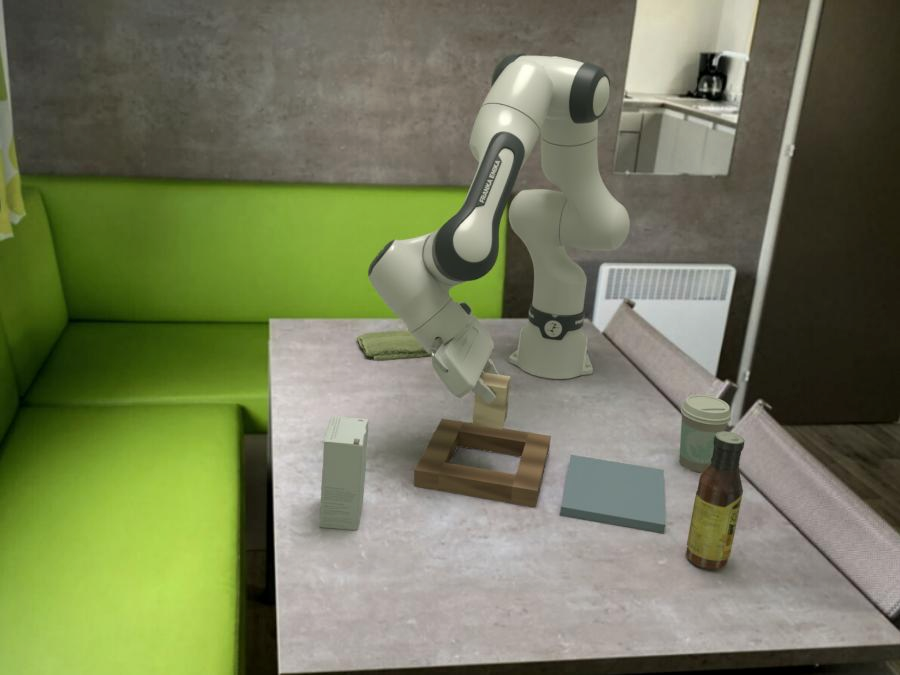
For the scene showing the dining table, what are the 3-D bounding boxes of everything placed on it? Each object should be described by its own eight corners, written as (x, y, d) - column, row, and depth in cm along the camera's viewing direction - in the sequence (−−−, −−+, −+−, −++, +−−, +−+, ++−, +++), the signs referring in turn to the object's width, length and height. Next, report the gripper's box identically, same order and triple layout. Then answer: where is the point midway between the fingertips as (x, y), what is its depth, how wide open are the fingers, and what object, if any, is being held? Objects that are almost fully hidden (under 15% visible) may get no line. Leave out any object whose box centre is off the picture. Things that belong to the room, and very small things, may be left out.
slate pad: (569, 462, 153) (570, 454, 152) (662, 477, 150) (663, 469, 150) (560, 514, 136) (561, 506, 136) (663, 533, 134) (665, 524, 133)
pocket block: (440, 433, 160) (441, 418, 159) (549, 450, 156) (550, 435, 155) (413, 486, 141) (414, 469, 140) (535, 507, 138) (537, 490, 137)
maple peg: (477, 412, 149) (481, 372, 146) (506, 416, 148) (510, 376, 145) (472, 424, 144) (475, 383, 142) (502, 429, 143) (506, 388, 141)
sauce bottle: (729, 575, 124) (757, 452, 118) (685, 567, 125) (709, 445, 119) (725, 550, 131) (751, 431, 124) (683, 543, 132) (706, 424, 125)
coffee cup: (668, 469, 153) (680, 407, 149) (674, 449, 161) (685, 389, 156) (718, 480, 151) (731, 418, 146) (722, 459, 158) (734, 399, 154)
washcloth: (353, 342, 201) (354, 329, 200) (426, 338, 207) (427, 325, 206) (367, 363, 190) (367, 349, 188) (443, 359, 195) (444, 345, 194)
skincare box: (326, 499, 136) (329, 413, 130) (365, 502, 136) (369, 416, 131) (318, 529, 128) (320, 439, 123) (359, 532, 128) (363, 442, 123)
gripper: (442, 339, 132) (500, 407, 133) (468, 299, 150) (519, 359, 152) (412, 362, 134) (469, 429, 136) (442, 319, 153) (492, 378, 154)
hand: (496, 391), depth 144 cm, fingers closed on maple peg, 5 cm apart
